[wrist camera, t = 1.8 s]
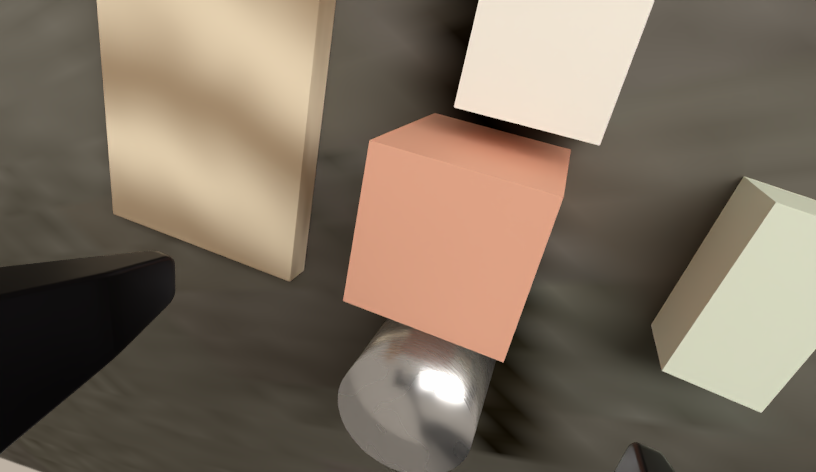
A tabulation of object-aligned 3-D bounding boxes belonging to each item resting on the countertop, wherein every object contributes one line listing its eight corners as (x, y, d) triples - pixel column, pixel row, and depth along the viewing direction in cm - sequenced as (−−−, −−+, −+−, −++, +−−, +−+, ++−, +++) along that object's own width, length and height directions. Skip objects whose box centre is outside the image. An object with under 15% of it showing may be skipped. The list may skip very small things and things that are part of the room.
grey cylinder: (480, 404, 21) (453, 496, 17) (379, 363, 22) (329, 440, 18) (512, 314, 19) (490, 393, 15) (399, 274, 20) (348, 336, 16)
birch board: (304, 270, 22) (289, 281, 21) (133, 206, 24) (113, 213, 23) (338, -17, 17) (321, -21, 16) (118, -64, 19) (91, -70, 18)
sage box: (733, 356, 17) (761, 412, 14) (650, 322, 18) (662, 370, 15) (845, 209, 14) (903, 245, 12) (741, 175, 15) (775, 202, 12)
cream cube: (596, 124, 16) (599, 145, 12) (481, 95, 17) (453, 107, 13) (645, -8, 14) (664, -28, 11) (514, -32, 15) (492, -58, 11)
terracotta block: (527, 272, 18) (503, 362, 13) (408, 233, 19) (343, 301, 14) (570, 149, 16) (563, 196, 11) (435, 112, 17) (369, 140, 12)
